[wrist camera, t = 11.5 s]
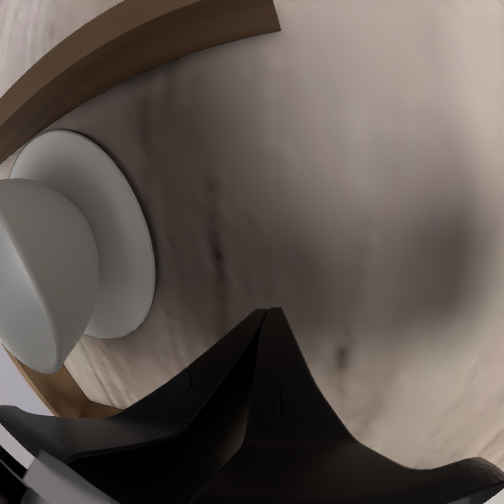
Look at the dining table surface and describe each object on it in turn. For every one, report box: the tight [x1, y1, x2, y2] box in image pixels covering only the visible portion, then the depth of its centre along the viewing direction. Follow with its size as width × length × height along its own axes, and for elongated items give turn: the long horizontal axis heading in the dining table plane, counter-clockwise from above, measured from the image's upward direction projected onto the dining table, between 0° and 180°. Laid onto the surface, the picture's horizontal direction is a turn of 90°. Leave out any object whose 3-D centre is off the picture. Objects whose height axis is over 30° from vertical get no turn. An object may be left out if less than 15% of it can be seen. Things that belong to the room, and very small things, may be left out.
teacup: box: [0, 130, 155, 374], centre depth 9 cm, size 10×10×5 cm
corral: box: [0, 0, 281, 418], centre depth 10 cm, size 19×18×3 cm
